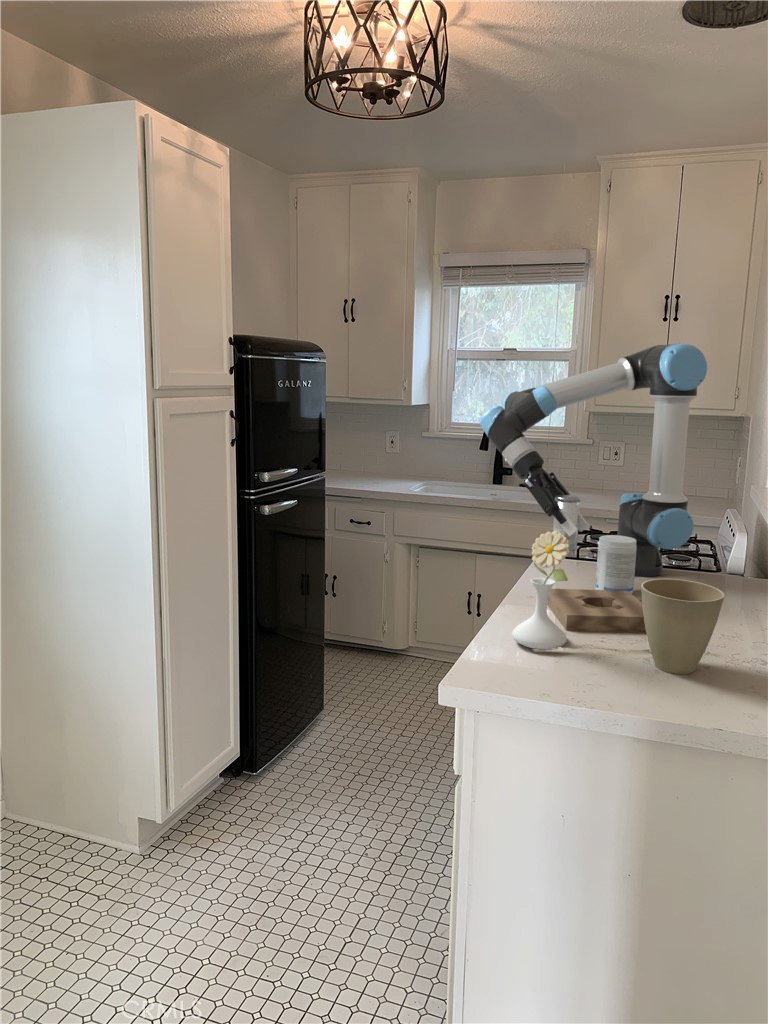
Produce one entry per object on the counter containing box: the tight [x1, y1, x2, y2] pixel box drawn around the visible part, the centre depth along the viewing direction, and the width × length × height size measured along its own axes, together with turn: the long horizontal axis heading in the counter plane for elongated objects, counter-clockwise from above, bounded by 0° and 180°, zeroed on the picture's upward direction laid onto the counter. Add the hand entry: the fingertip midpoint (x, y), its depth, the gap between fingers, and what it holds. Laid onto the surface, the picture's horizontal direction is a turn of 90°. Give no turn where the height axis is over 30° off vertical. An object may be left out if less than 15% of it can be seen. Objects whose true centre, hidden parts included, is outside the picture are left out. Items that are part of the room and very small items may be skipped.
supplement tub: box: [594, 534, 637, 594], centre depth 193 cm, size 10×10×15 cm
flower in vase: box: [511, 531, 570, 650], centre depth 152 cm, size 13×11×25 cm
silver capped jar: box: [552, 494, 581, 551], centre depth 185 cm, size 6×6×13 cm
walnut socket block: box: [547, 588, 647, 634], centre depth 171 cm, size 20×20×4 cm
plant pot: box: [640, 578, 725, 675], centre depth 144 cm, size 15×15×16 cm
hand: (579, 530), depth 183 cm, fingers closed on silver capped jar, 6 cm apart
